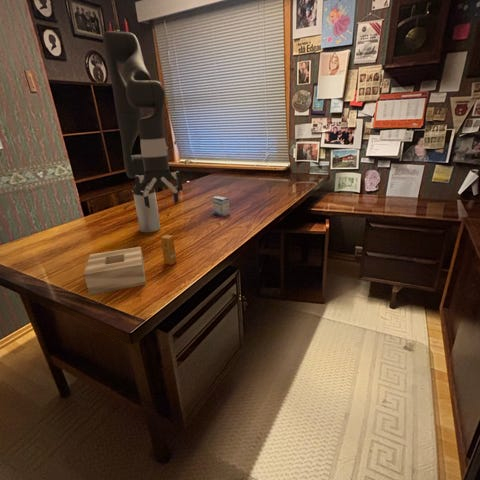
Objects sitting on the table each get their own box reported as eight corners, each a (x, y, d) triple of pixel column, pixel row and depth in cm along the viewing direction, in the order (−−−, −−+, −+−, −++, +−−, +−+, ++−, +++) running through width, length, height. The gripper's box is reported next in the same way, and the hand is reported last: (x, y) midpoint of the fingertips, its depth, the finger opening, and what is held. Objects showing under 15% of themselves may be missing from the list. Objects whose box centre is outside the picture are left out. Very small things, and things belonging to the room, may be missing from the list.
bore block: (94, 273, 101) (89, 254, 98) (144, 264, 105) (140, 246, 102) (89, 295, 88) (83, 274, 85) (145, 284, 93) (141, 264, 90)
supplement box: (177, 261, 106) (173, 235, 102) (171, 265, 104) (167, 239, 100) (170, 259, 108) (166, 234, 104) (163, 263, 105) (159, 237, 101)
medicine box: (213, 213, 156) (211, 197, 152) (219, 211, 159) (218, 195, 155) (223, 216, 151) (222, 199, 147) (229, 214, 154) (228, 197, 150)
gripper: (176, 151, 96) (182, 200, 103) (130, 154, 92) (139, 205, 99) (179, 153, 90) (185, 205, 96) (130, 157, 86) (139, 211, 92)
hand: (162, 205), depth 97 cm, fingers open, 8 cm apart
